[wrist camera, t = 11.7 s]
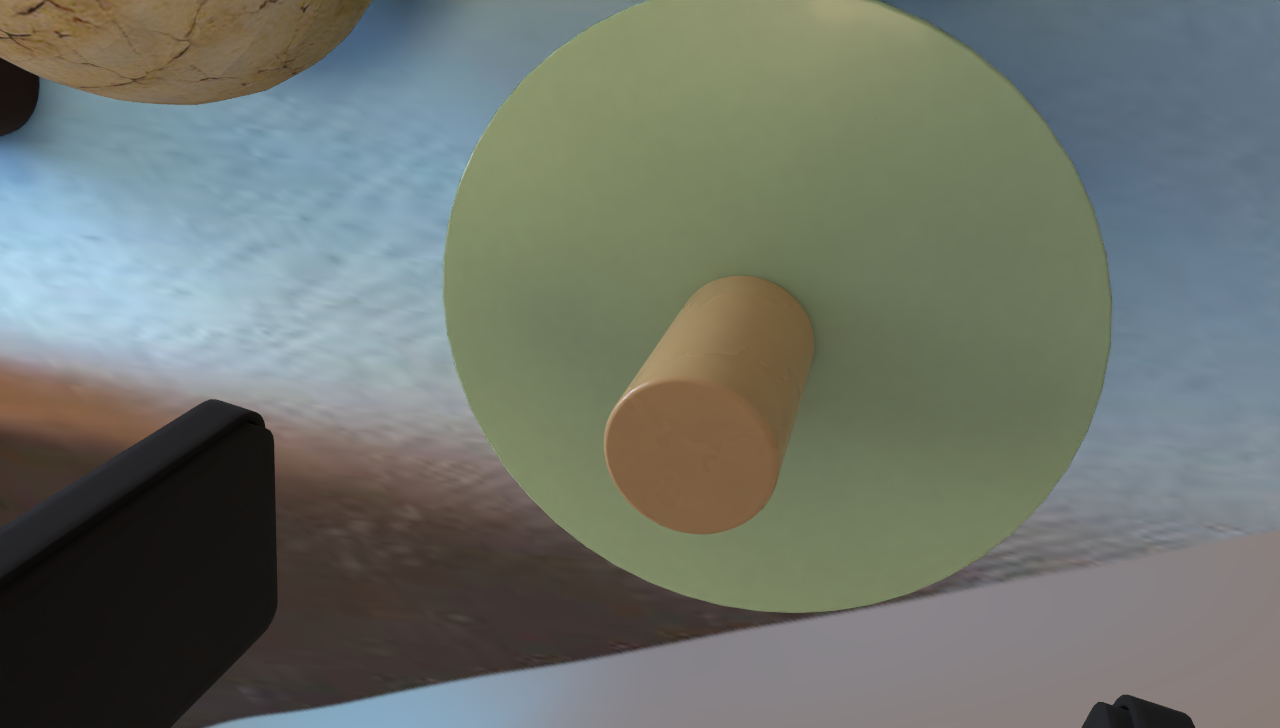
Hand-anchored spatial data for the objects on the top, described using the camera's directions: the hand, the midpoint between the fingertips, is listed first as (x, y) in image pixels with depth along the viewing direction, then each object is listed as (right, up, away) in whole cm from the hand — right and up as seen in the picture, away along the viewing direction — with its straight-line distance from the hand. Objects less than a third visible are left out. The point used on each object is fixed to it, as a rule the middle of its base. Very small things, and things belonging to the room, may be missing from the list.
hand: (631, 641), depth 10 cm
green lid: (+2, +4, +9) cm, 10 cm away
